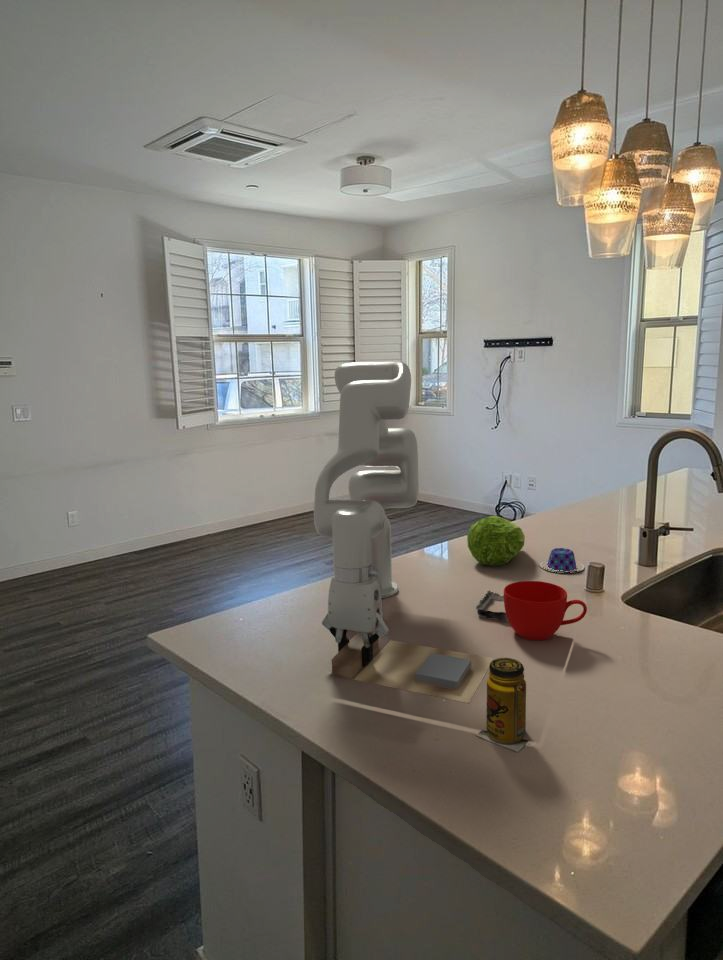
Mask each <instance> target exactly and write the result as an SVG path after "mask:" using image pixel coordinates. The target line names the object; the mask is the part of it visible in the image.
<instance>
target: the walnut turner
mask: <svg viewBox="0 0 723 960" xmlns="http://www.w3.org/2000/svg"><path fill="white" fill-rule="evenodd" d="M376 632H377V631H374V634H375V633H376ZM379 644H380V643H379V639H378V640H376V641H375V642H374V643H373V655H374V654H375V653H376V652H377V650H378V649H379V647H380V646H379ZM363 646H364V643H363V638H362V634H361V632H357V633H356V634H355V635H354V636H353V637H352V638H351V639H349V642H348V643H347V644H346V645H345V646H344V647H343V648H342V649H341V650H340V651H339V652H338V651H337V653H336V654H335V655H334V656H333V658H331V676H332V677H335V678H342V679H346V680H347V679H348V680H353V679H354V678H355V677H356V676H357V675H358V674H359V671H360V670H361V669H363V667H364V666H362V651H361V649H362V647H363Z"/></svg>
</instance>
